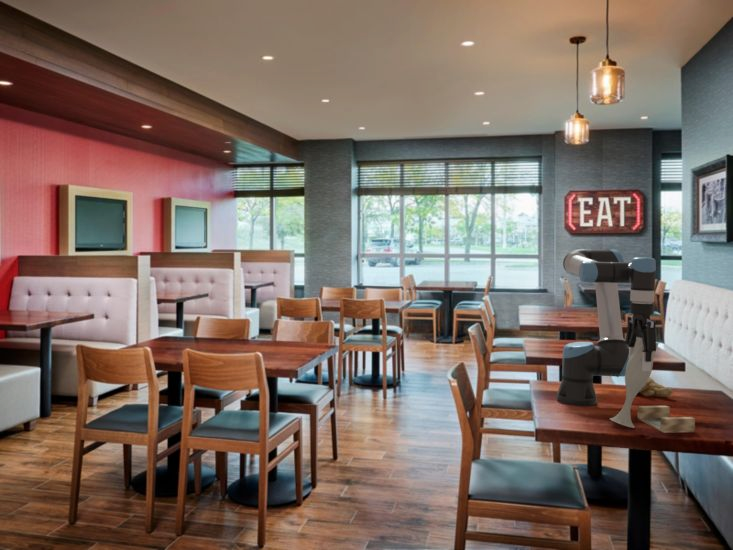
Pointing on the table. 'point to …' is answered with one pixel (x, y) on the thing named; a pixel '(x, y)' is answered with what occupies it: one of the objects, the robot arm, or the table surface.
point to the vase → (633, 382)
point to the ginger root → (655, 389)
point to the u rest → (665, 419)
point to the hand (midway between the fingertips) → (639, 368)
